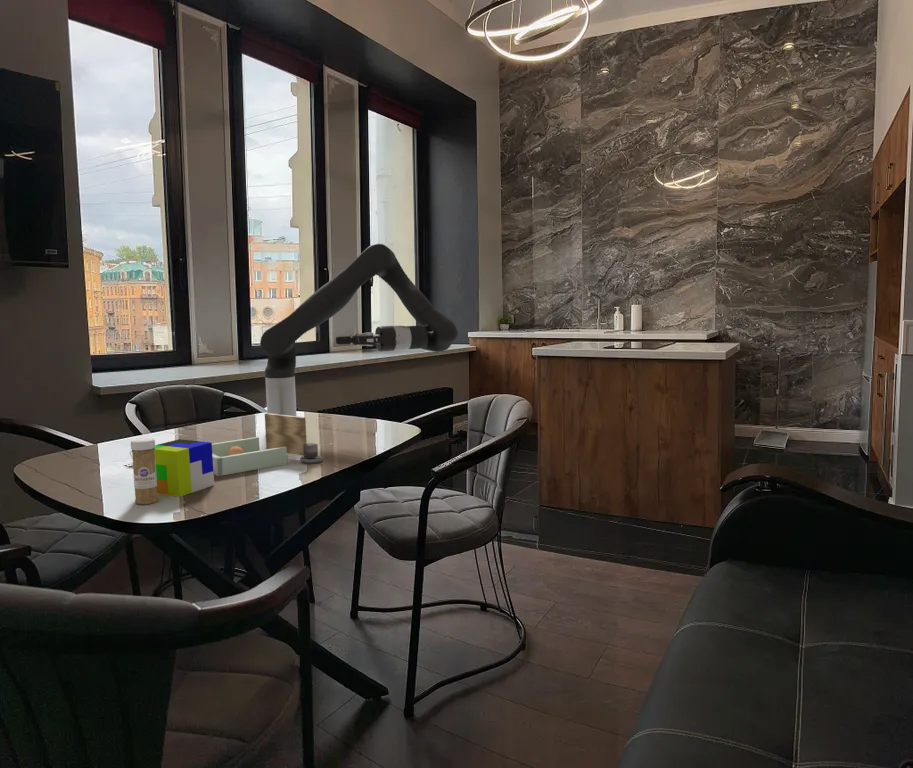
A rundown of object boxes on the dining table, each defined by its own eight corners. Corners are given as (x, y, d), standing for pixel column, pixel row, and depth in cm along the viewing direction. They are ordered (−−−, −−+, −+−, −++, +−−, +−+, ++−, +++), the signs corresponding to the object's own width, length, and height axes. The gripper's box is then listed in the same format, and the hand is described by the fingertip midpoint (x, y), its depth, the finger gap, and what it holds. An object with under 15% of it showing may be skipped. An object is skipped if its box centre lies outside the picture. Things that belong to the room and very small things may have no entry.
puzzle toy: (214, 485, 154) (211, 442, 152) (179, 497, 145) (176, 451, 143) (182, 480, 158) (179, 439, 157) (146, 492, 149) (143, 448, 148)
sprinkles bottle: (137, 506, 138) (132, 442, 136) (133, 501, 142) (128, 438, 140) (161, 502, 141) (156, 439, 139) (156, 497, 144) (152, 436, 143)
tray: (192, 463, 175) (191, 446, 174) (257, 452, 186) (257, 436, 186) (218, 476, 161) (216, 458, 161) (287, 463, 173) (286, 447, 172)
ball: (238, 462, 178) (224, 457, 176) (244, 448, 178) (230, 443, 177) (241, 465, 174) (226, 460, 173) (247, 450, 175) (233, 445, 173)
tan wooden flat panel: (320, 455, 175) (319, 417, 174) (310, 458, 172) (309, 419, 171) (273, 448, 184) (271, 412, 183) (263, 450, 181) (261, 414, 180)
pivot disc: (298, 460, 176) (297, 456, 176) (319, 458, 178) (319, 454, 178) (302, 465, 171) (302, 461, 171) (324, 462, 173) (324, 458, 173)
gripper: (385, 325, 206) (330, 326, 199) (400, 326, 194) (342, 328, 187) (386, 349, 207) (330, 352, 200) (401, 352, 195) (343, 355, 188)
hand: (336, 340), depth 193 cm, fingers closed
